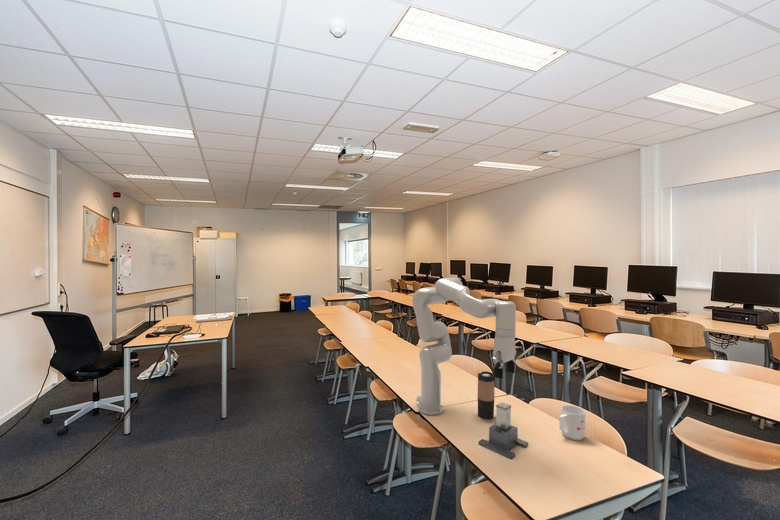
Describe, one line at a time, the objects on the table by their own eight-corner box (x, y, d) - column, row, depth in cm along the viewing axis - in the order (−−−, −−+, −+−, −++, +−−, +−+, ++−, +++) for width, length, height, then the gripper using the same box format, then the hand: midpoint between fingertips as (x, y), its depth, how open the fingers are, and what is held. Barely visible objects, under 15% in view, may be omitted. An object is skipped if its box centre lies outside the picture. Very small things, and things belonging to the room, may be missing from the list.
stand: (478, 444, 136) (478, 424, 136) (496, 432, 146) (496, 413, 146) (511, 459, 126) (511, 437, 126) (528, 445, 136) (528, 425, 136)
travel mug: (495, 420, 156) (495, 377, 156) (477, 419, 158) (478, 376, 158) (493, 413, 164) (493, 372, 164) (477, 411, 165) (477, 370, 165)
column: (495, 444, 136) (496, 404, 136) (501, 440, 139) (501, 401, 139) (505, 449, 133) (506, 408, 133) (510, 445, 136) (511, 405, 136)
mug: (571, 428, 149) (571, 403, 149) (590, 438, 141) (590, 412, 141) (551, 434, 144) (551, 408, 144) (569, 444, 136) (570, 417, 136)
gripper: (507, 327, 144) (506, 368, 144) (485, 333, 132) (484, 377, 132) (524, 330, 139) (523, 372, 139) (503, 337, 127) (502, 382, 127)
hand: (504, 375), depth 136 cm, fingers open, 9 cm apart
